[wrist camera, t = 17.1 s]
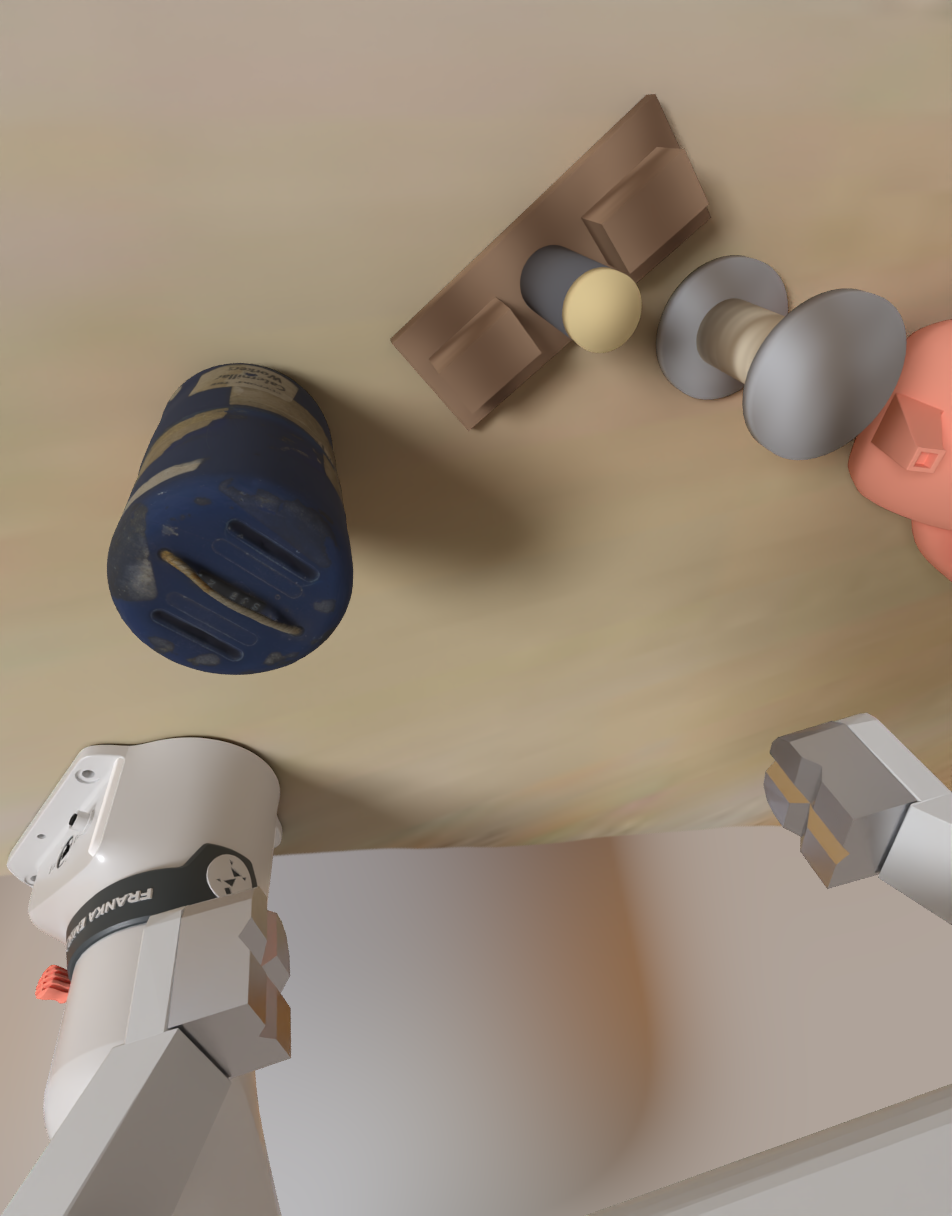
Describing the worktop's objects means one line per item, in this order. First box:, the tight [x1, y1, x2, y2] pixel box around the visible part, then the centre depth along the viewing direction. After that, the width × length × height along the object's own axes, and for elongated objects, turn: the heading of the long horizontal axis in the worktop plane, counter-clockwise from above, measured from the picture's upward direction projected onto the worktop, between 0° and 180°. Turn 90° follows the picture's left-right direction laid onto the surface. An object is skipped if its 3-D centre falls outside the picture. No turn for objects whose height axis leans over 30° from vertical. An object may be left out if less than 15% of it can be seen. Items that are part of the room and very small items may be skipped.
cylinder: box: [520, 245, 642, 353], centre depth 34 cm, size 4×4×8 cm
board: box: [390, 94, 711, 431], centre depth 37 cm, size 18×7×4 cm, turn 129°
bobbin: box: [656, 255, 907, 460], centre depth 38 cm, size 8×8×11 cm
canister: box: [107, 363, 353, 675], centre depth 33 cm, size 10×10×18 cm
